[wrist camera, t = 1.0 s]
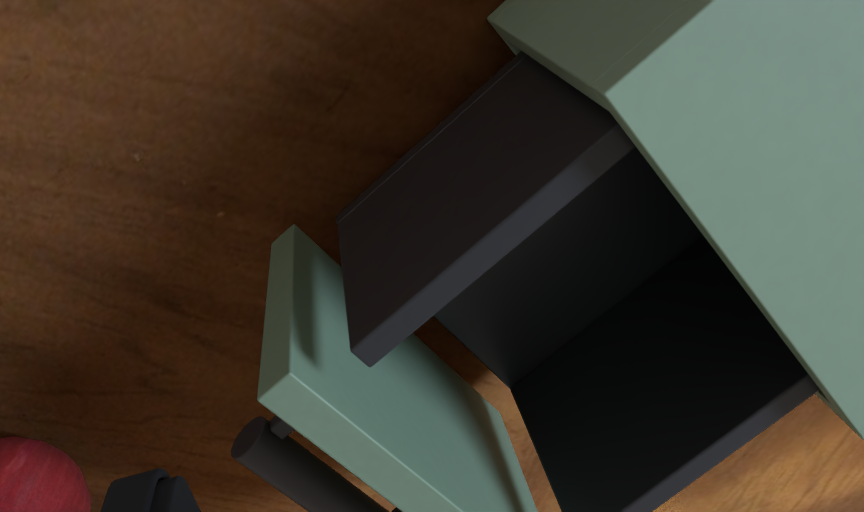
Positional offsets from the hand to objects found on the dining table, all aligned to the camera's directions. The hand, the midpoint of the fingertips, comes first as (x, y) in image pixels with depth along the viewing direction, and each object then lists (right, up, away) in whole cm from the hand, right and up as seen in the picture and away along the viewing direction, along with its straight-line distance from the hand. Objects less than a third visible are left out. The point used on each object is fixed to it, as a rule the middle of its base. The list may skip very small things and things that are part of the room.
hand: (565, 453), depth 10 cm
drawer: (0, +2, +20) cm, 20 cm away
